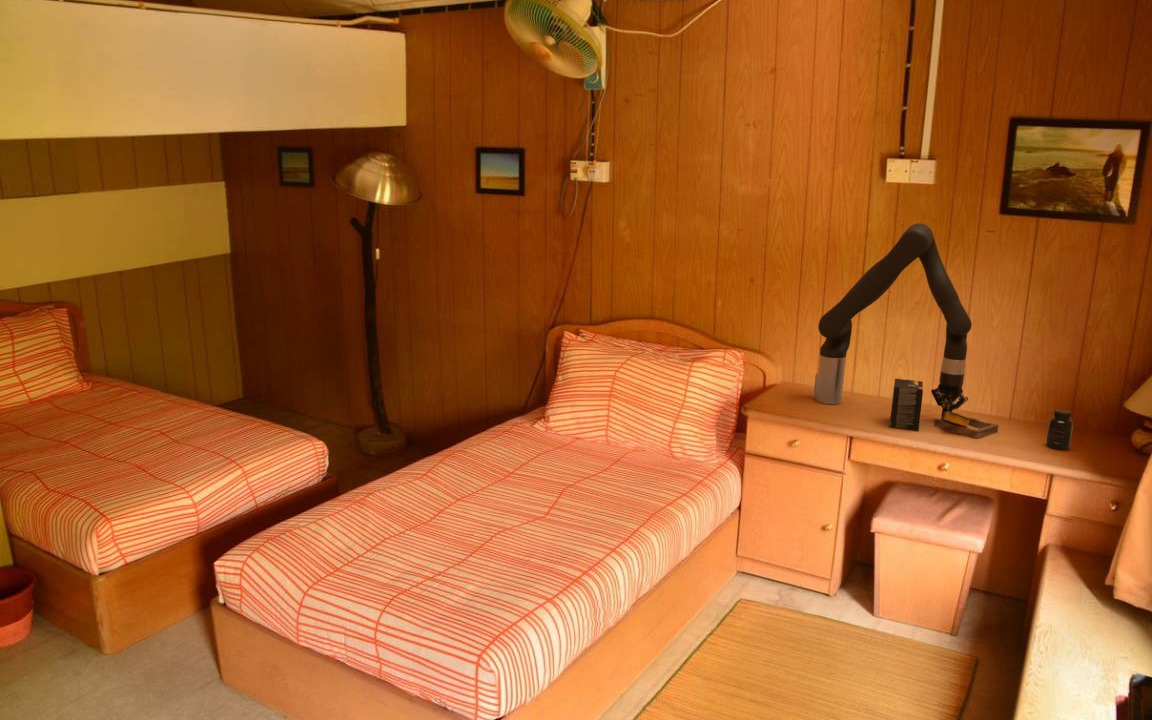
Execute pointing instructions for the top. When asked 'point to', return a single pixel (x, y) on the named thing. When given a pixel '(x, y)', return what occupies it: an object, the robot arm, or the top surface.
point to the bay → (984, 431)
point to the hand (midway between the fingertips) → (946, 419)
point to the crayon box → (955, 418)
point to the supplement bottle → (1060, 430)
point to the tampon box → (906, 404)
